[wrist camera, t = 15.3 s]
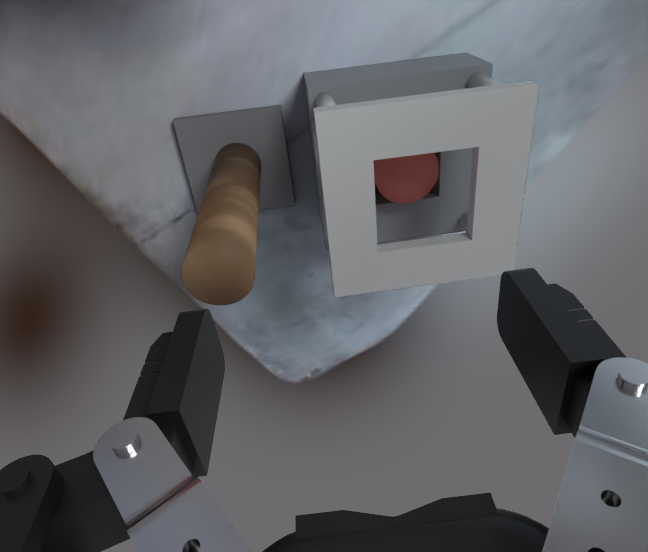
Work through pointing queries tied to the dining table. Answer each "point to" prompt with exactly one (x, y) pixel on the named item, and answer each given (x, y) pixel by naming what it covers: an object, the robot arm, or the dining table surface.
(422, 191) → the breaker plunger
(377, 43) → the dining table surface
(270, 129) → the pad
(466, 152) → the grey square frame
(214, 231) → the wooden cylinder rod
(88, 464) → the robot arm
